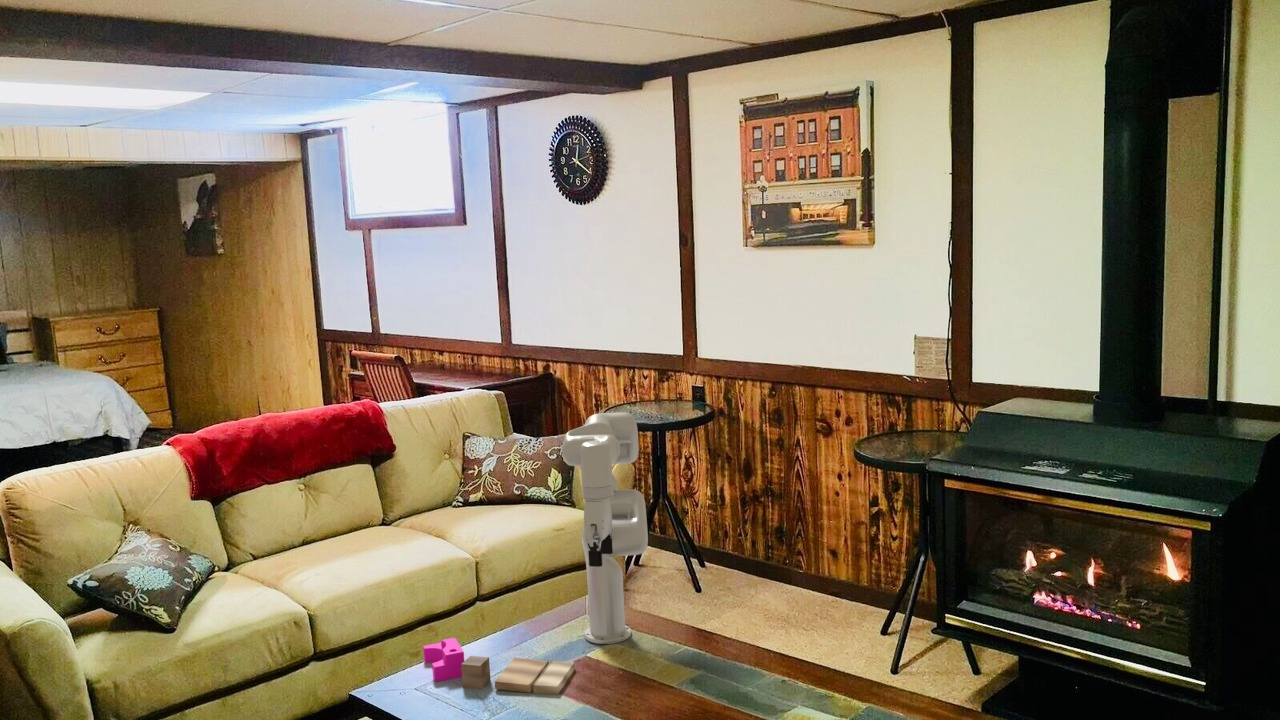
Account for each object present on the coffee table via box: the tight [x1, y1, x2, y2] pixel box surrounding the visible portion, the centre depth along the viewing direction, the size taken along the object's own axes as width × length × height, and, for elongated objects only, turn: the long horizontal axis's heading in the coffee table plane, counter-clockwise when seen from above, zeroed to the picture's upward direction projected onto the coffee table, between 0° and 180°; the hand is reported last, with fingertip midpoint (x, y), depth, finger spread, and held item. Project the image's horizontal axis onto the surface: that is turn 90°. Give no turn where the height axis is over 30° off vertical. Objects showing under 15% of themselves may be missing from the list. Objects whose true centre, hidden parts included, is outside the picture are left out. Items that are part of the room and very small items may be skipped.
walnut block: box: [461, 655, 491, 690], centre depth 250 cm, size 5×5×6 cm
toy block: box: [422, 637, 465, 682], centre depth 261 cm, size 15×6×8 cm
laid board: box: [532, 660, 576, 696], centre depth 250 cm, size 14×6×2 cm, turn 167°
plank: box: [494, 657, 550, 693], centre depth 252 cm, size 14×9×2 cm, turn 167°
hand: (601, 559), depth 252 cm, fingers open, 9 cm apart
